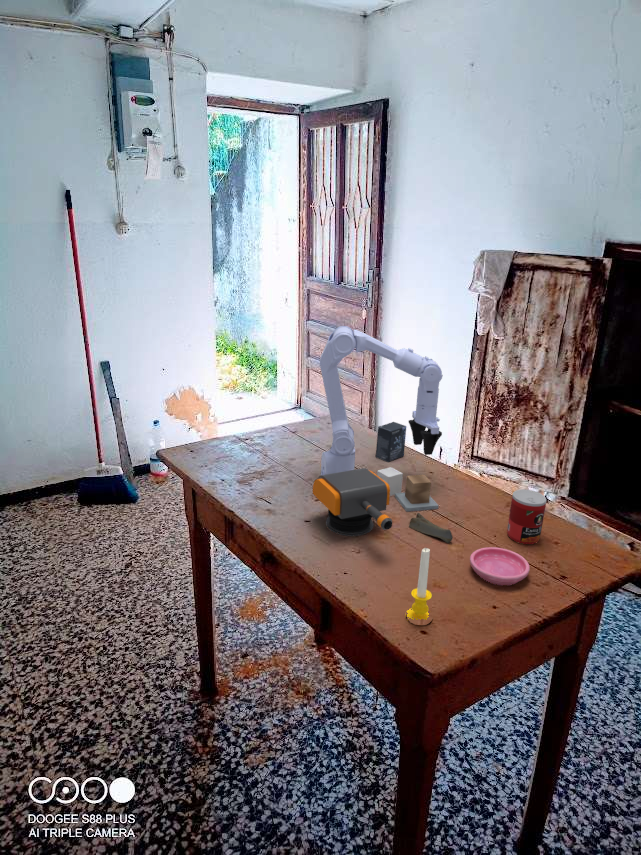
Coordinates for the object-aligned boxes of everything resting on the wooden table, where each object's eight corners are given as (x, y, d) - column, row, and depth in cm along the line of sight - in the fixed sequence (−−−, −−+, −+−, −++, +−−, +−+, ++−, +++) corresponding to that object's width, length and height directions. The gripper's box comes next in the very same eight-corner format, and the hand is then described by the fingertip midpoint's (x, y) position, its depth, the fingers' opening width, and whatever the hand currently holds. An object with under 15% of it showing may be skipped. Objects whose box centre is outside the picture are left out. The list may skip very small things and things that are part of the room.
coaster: (406, 511, 155) (406, 508, 155) (394, 496, 164) (394, 493, 163) (438, 508, 157) (438, 505, 157) (424, 493, 166) (425, 490, 165)
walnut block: (411, 504, 157) (413, 483, 155) (404, 495, 162) (406, 475, 160) (429, 502, 158) (431, 482, 156) (422, 494, 163) (424, 474, 161)
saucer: (457, 564, 133) (458, 552, 132) (501, 553, 138) (503, 541, 136) (493, 596, 122) (495, 583, 121) (540, 583, 127) (542, 570, 126)
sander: (357, 566, 131) (360, 515, 126) (310, 516, 152) (311, 470, 147) (413, 552, 137) (418, 503, 132) (361, 506, 158) (363, 462, 153)
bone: (404, 524, 149) (406, 511, 148) (419, 520, 152) (421, 508, 151) (439, 549, 139) (441, 535, 138) (455, 544, 142) (457, 531, 140)
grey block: (387, 496, 164) (388, 477, 161) (376, 490, 167) (377, 470, 165) (401, 492, 166) (402, 473, 164) (389, 486, 170) (391, 467, 168)
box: (388, 462, 186) (391, 431, 183) (375, 457, 190) (377, 426, 186) (404, 456, 191) (407, 425, 188) (390, 451, 195) (393, 421, 192)
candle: (405, 624, 112) (411, 553, 107) (406, 607, 117) (412, 538, 112) (432, 628, 112) (440, 556, 106) (432, 611, 117) (440, 541, 111)
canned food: (523, 548, 140) (530, 506, 136) (499, 532, 146) (505, 492, 143) (546, 541, 143) (554, 500, 140) (522, 526, 150) (528, 486, 146)
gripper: (451, 411, 159) (446, 458, 164) (429, 395, 172) (425, 439, 177) (427, 412, 157) (422, 459, 162) (407, 396, 171) (403, 440, 175)
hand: (422, 449), depth 169 cm, fingers open, 7 cm apart
